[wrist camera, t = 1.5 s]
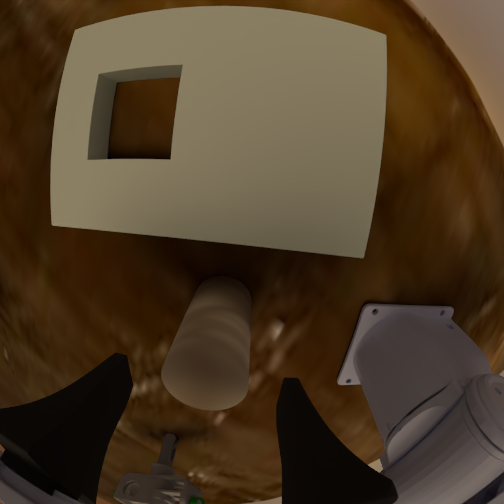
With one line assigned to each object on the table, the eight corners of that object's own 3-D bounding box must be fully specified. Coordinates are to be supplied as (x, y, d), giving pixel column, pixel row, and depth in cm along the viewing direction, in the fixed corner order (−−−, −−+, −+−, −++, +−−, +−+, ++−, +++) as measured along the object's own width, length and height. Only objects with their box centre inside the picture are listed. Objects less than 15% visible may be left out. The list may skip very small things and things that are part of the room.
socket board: (371, 48, 13) (385, 35, 11) (350, 245, 17) (363, 258, 15) (92, 40, 13) (75, 29, 10) (72, 217, 17) (51, 225, 15)
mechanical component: (217, 440, 24) (207, 516, 15) (145, 444, 26) (125, 506, 16) (204, 426, 23) (190, 508, 14) (131, 431, 25) (107, 495, 15)
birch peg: (255, 278, 18) (252, 356, 11) (248, 328, 19) (244, 414, 12) (195, 272, 18) (157, 343, 11) (194, 322, 19) (165, 402, 12)
